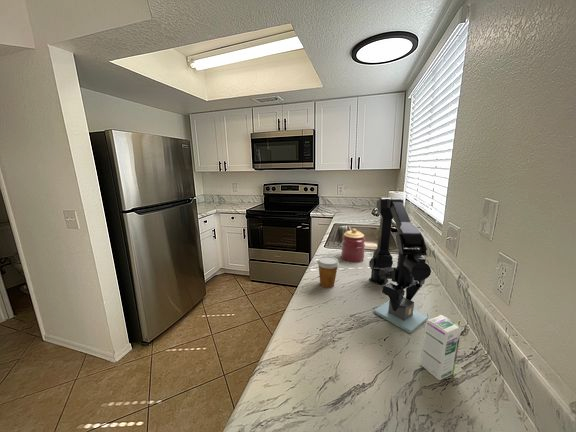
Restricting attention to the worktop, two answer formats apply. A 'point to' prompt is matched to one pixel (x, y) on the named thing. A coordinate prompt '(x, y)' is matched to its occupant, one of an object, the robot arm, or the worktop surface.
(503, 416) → the worktop surface
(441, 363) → the syrup box
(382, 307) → the plate
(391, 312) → the grey block
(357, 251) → the canister
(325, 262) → the disposable coffee cup
